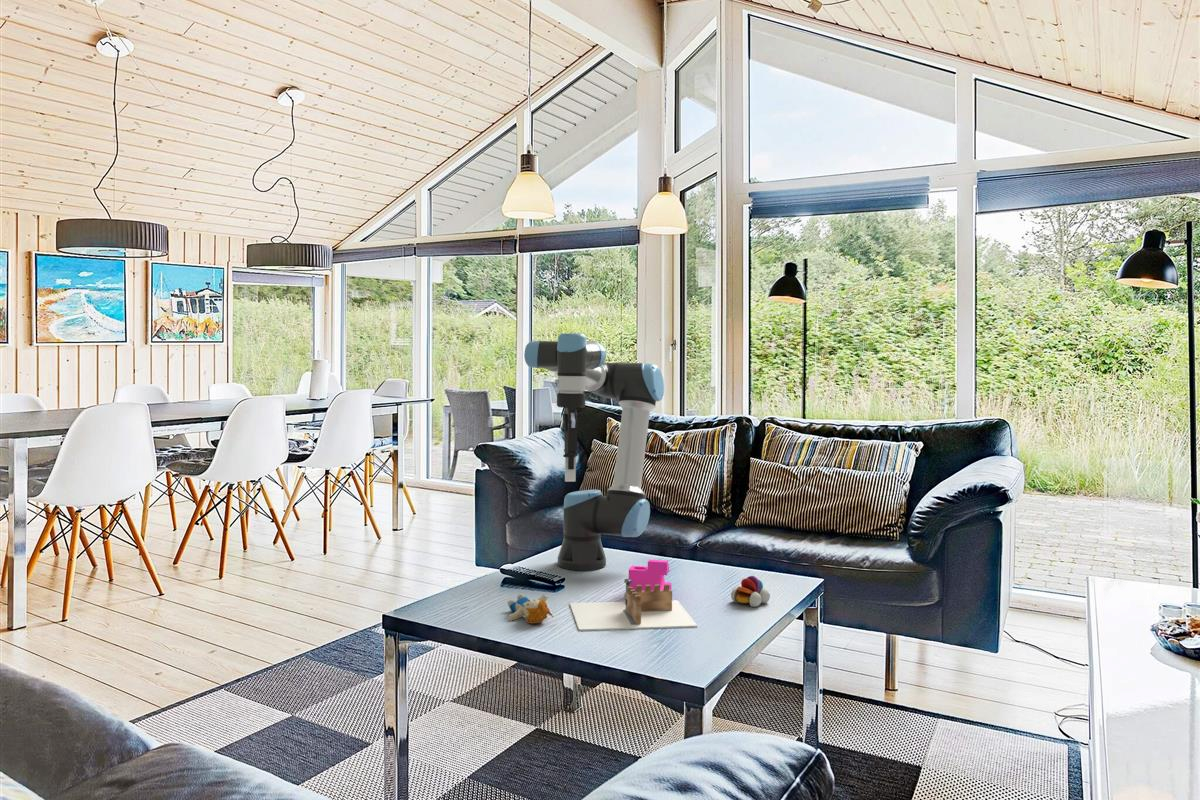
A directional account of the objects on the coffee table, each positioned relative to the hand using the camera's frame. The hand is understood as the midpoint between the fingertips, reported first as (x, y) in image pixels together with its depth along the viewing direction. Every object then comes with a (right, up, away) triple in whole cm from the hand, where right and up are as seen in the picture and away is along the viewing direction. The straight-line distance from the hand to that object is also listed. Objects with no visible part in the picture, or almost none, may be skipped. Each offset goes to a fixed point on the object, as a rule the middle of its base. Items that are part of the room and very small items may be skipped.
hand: (570, 481), depth 226 cm
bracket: (+22, -32, +9) cm, 40 cm away
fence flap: (+16, -33, -13) cm, 39 cm away
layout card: (+16, -33, -9) cm, 38 cm away
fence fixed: (+21, -33, -6) cm, 40 cm away
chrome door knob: (+15, -33, -7) cm, 37 cm away
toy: (-10, -34, -12) cm, 37 cm away
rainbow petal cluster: (+48, -33, +3) cm, 59 cm away
